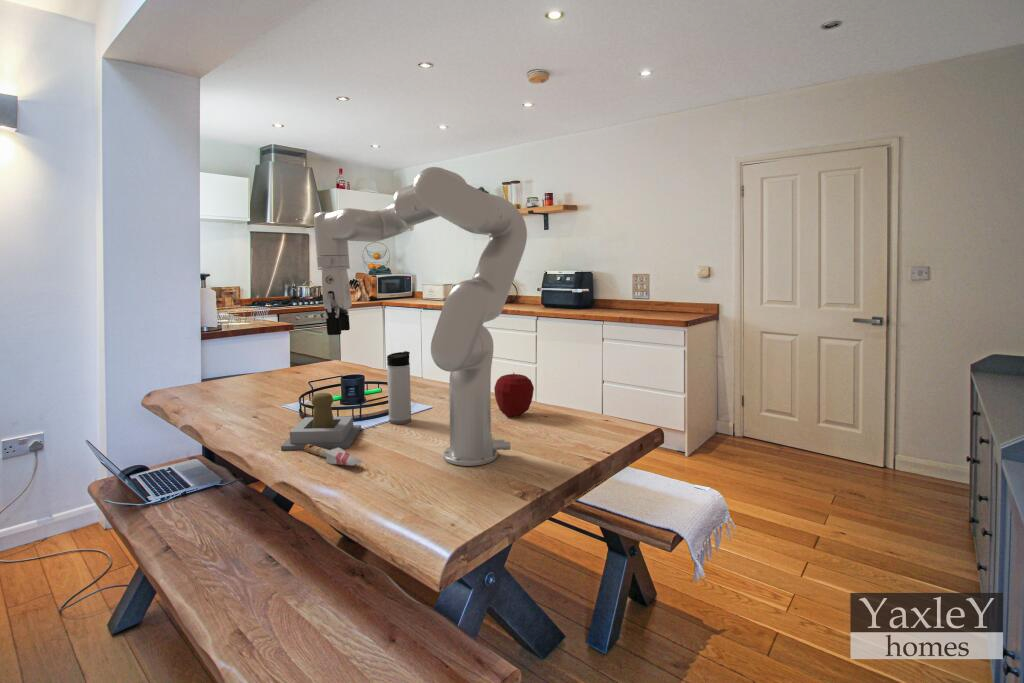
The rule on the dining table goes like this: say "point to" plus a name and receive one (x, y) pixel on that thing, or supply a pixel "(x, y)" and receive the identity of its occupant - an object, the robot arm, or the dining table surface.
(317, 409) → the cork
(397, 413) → the travel mug
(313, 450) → the paintbrush
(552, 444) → the dining table surface
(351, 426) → the holder
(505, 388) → the apple
